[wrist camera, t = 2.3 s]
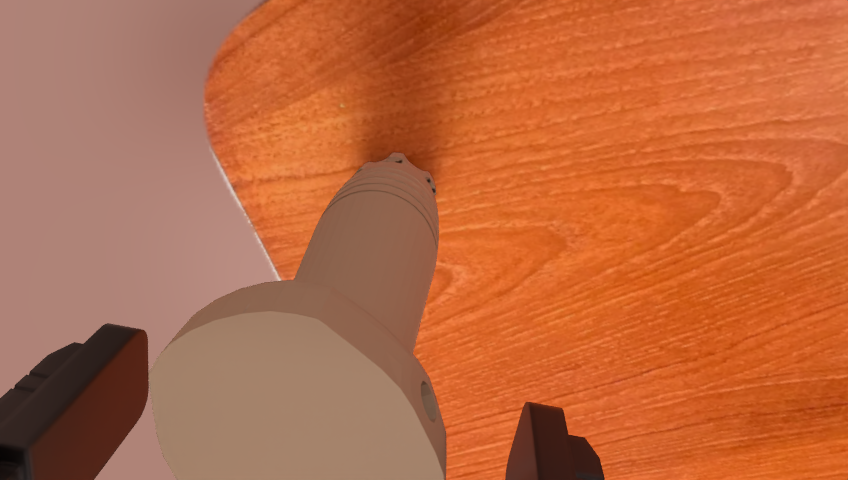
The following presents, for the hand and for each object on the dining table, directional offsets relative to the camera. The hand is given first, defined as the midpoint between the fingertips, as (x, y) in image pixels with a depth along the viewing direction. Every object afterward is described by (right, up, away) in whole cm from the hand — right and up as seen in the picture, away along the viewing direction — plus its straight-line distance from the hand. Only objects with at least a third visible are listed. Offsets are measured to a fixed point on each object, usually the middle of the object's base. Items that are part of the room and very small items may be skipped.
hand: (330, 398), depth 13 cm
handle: (+1, +5, +12) cm, 13 cm away
